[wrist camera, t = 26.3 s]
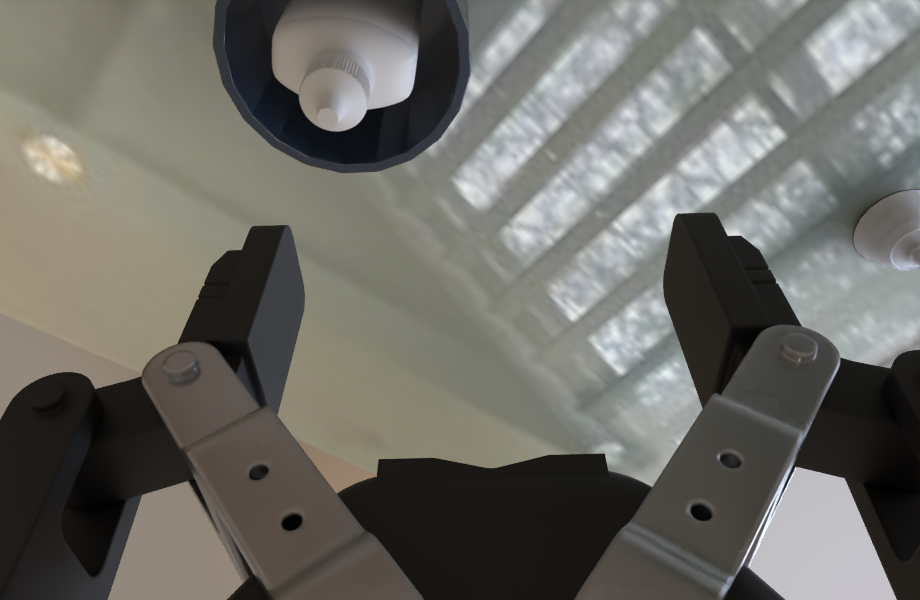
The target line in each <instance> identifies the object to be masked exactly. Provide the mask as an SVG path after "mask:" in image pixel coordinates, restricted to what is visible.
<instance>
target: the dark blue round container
mask: <svg viewBox="0 0 920 600" xmlns="http://www.w3.org/2000/svg"><path fill="white" fill-rule="evenodd" d="M289 1H290V0H217V2H216V6H215V18H214V34H213V48H214V52H215V56H216V60H217V64H218V67H219V71H220V75H221V79H222V83H223V85H224V87H225V89H226V91H227V92H228V94H229V96H230V97H231V99H232V101H233V102H234V104H235V106H236V107H237V109H238V111H239V112H240V114H241V116H242V117H243V119H244V120H245V121H246V122H247V123H248V124H249V125H250V126H251V127H252V128H253V129H254V130H256V131H257V132H258V133H259V134H260V135H261V136H262V137H263V138H264V139H265V140H266V141H267V142H268V143H269V144H270V145H271V146H273V147H274V148H276V149H278V150H280V151H282V152H284V153H285V154H287V155H289V156H291V157H293V158H295V159H297V160H298V161H300V162H302V163H304V164H307V165H310V166H314V167H318V168H322V169H327V170H331V171H335V172H339V173H358V172H377V171H381V170H384V169H387V168H390V167H393V166H396V165H398V164H401V163H404V162H407V161H410V160H411V159H413V158H415V157H416V156H417V155H419V154H420V153H422V152H423V151H424V150H426V149H427V148H428V147H430V146H431V145H432V144H434V143H435V142H436V141H438V140H439V138H441V136H442V135H443V134H444V132H445V131H446V129H447V128H448V126H449V125H450V124H451V122H452V121H453V119H454V118H455V116H456V115H457V114H458V112H459V111H460V109H461V106H462V102H463V99H464V95H465V92H466V89H467V85H468V82H469V79H470V75H471V58H470V32H469V17H468V1H467V0H421V2H422V17H421V28H420V38H419V48H418V57H417V65H416V72H415V80H414V85H413V89H412V91H411V93H410V95H409V97H407V98H406V99H405V100H403V101H401V102H399V103H396V104H393V105H389V106H386V107H381V108H375V109H368V110H367V111H366V114H365V115H364V117H363V118H362V120H360V122H359V123H358V124H357V125H355V126H354V127H352V128H349V129H347V130H346V131H345V130H343V131H340V132H339V131H336V132H335V131H328V130H325V129H322V128H321V127H318V126H316V125H315V124H313V123H312V122H311V121H310V119H308V118H307V116H305V113H303V110H302V107H301V106H300V105H301V104H300V103H299V102H300V100H299V96H298V95H299V94H297V93H295V92H293V91H292V90H290V89H288V88H287V87H286V86H284V85H283V84H281V83H280V82H279V81H278V80H277V78H276V77H275V75H274V72H273V69H272V38H273V34H274V31H275V28H276V26H277V24H278V22H279V20H280V18H281V16H282V14H283V12H284V10H285V9H286V7H287V5H288V3H289Z"/></svg>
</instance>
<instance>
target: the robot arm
mask: <svg viewBox="0 0 920 600" xmlns="http://www.w3.org/2000/svg"><path fill="white" fill-rule="evenodd" d="M204 283H205V286H203V287H202V289H201V291H200V294H199V296H198V297H199V300H196V303H195V305H194V307H193V310H192V312H191V314H190V316H189V319H188V321H187V323H186V325H185V328H184V330H183V332H182V335H181V337H180V339H179V341H178V344H177V345H174V346H171V347H168V348H166V349H165V350H163V351H161V352H159V353H158V354H156V355H155V356H154V357H153V358H152V359H151V360H150V361H149V362H148V363H147V365H146V366H145V368H144V370H143V372H142V376H141V377H138V378H135V379H132V380H129V381H125V382H121V383H117V384H113V385H109V386H105V387H102V388H98V389H95V388H94V386H93V384H92V382H91V381H90V379H89V378H87V377H86V376H84V375H82V374H79V373H73V372H63V373H56V374H53V375H49V376H46V377H43V378H41V379H39V380H36V381H35V382H33V383H31V384H30V385H28V386H26V387H25V388H23V389H22V390H21V391H20V392H19V393H18V394H17V395H16V396H15V397H14V398H13V399H12V401H11V402H10V404H9V406H8V407H7V409H6V411H5V412H4V414H3V416H2V418H1V420H0V600H107V599H108V597H109V594H110V591H111V587H112V585H113V582H114V579H115V576H116V572H117V569H118V566H119V563H120V560H121V557H122V554H123V551H124V548H125V545H126V542H127V539H128V536H129V533H130V530H131V527H132V524H133V521H134V518H135V515H136V512H137V509H138V506H139V503H140V499H141V496H142V495H143V494H146V493H149V492H152V491H156V490H159V489H163V488H166V487H169V486H173V485H176V484H179V483H182V482H186V481H187V482H188V484H189V486H190V488H191V489H192V491H193V493H194V495H195V496H196V498H197V500H198V502H199V503H200V505H201V507H202V509H203V510H204V512H205V514H206V515H207V517H208V519H209V521H210V523H211V524H212V526H213V528H214V530H215V531H216V533H217V535H218V537H219V539H220V540H221V542H222V544H223V545H224V547H225V549H226V551H227V553H228V555H229V557H230V559H231V561H232V563H233V565H234V567H235V569H236V571H237V573H238V575H239V576H240V579H241V580H242V582H243V584H242V585H241V586H240V587H239V588H238V589H237V590H236V591H235V592H234V593H233V594H232V595H231V596H230V597H229V598H228V599H227V600H785V599H784V598H783V597H781V596H780V595H779V594H778V593H777V592H776V591H775V590H773V589H772V588H771V587H770V586H769V585H768V584H766V583H765V582H764V581H763V580H762V579H761V578H760V577H758V576H757V575H756V574H755V573H754V572H753V571H752V570H750V569H749V567H750V565H751V563H752V560H753V558H754V556H755V554H756V552H757V549H758V547H759V545H760V543H761V540H762V538H763V536H764V534H765V532H766V530H767V528H768V526H769V524H770V521H771V519H772V517H773V515H774V513H775V511H776V509H777V507H778V505H779V503H780V501H781V498H782V496H783V494H784V492H785V490H786V488H787V486H788V484H789V482H790V480H791V478H792V476H793V474H794V471H795V469H796V467H800V468H804V469H808V470H813V471H817V472H821V473H825V474H829V475H834V476H838V477H842V478H845V480H846V482H847V484H848V487H849V489H850V491H851V493H852V496H853V498H854V501H855V503H856V505H857V508H858V510H859V512H860V515H861V517H862V519H863V522H864V524H865V526H866V529H867V531H868V533H869V535H870V538H871V540H872V543H873V545H874V547H875V549H876V552H877V554H878V557H879V559H880V561H881V564H882V566H883V568H884V571H885V573H886V575H887V578H888V580H889V582H890V585H891V587H892V589H893V591H894V594H895V596H896V599H897V600H920V350H913V351H907V352H905V353H902V354H901V355H899V356H898V357H897V358H896V359H895V360H894V362H893V364H892V367H891V369H890V368H885V367H880V366H874V365H869V364H864V363H859V362H854V361H850V360H846V359H843V358H840V355H839V352H838V350H837V348H836V347H835V346H834V345H833V344H832V343H831V342H830V341H829V340H828V339H827V338H825V337H824V336H822V335H821V334H819V333H817V332H815V331H813V330H810V329H807V328H804V327H802V326H801V324H800V322H799V321H798V319H797V317H796V315H795V313H794V312H793V310H792V308H791V306H790V304H789V303H788V301H787V299H786V297H785V295H784V294H783V292H782V290H781V288H780V287H779V285H778V284H776V279H775V278H774V276H773V274H772V272H771V270H768V265H767V263H766V261H765V260H764V258H763V256H762V254H761V253H760V251H759V250H758V249H757V248H756V247H755V246H753V245H752V244H751V243H749V242H748V241H747V240H746V239H744V238H743V237H742V236H727V234H726V232H725V230H724V228H723V226H722V224H721V222H720V220H719V218H718V216H717V215H716V214H715V213H684V214H677V215H676V216H675V219H674V222H673V227H672V232H671V238H670V243H669V248H668V254H667V259H666V265H665V270H664V278H663V290H664V298H665V302H666V305H667V308H668V311H669V314H670V317H671V319H672V322H673V325H674V328H675V331H676V334H677V336H678V339H679V342H680V345H681V348H682V351H683V354H684V356H685V359H686V362H687V365H688V368H689V371H690V373H691V376H692V379H693V382H694V385H695V388H696V391H697V393H698V396H699V399H700V402H701V405H702V408H703V410H702V411H701V413H700V414H699V416H698V417H697V419H696V420H695V422H694V424H693V425H692V427H691V428H690V430H689V431H688V433H687V434H686V436H685V437H684V439H683V441H682V442H681V444H680V445H679V447H678V448H677V450H676V451H675V453H674V455H673V456H672V458H671V459H670V461H669V462H668V464H667V465H666V467H665V468H664V470H663V472H662V473H661V475H660V476H659V478H658V479H657V481H656V482H655V484H654V486H653V487H651V486H649V485H647V484H645V483H643V482H641V481H639V480H636V479H634V478H631V477H629V476H626V475H622V474H619V473H615V472H611V471H608V468H607V463H606V458H605V454H571V455H547V456H543V457H539V458H535V459H531V460H527V461H523V462H519V463H515V464H511V465H507V466H503V467H499V468H483V467H478V466H473V465H468V464H463V463H458V462H452V461H447V460H442V459H437V458H412V459H379V461H378V471H377V477H374V478H370V479H367V480H364V481H361V482H358V483H356V484H354V485H352V486H350V487H347V488H345V489H343V490H342V491H340V492H339V493H337V494H336V492H335V491H334V490H333V488H332V487H331V486H330V485H329V483H328V482H327V481H326V479H325V478H324V477H323V475H322V474H321V473H320V471H319V470H318V469H317V467H316V466H315V465H314V463H313V462H312V461H311V459H310V458H309V457H308V456H307V454H306V453H305V452H304V450H303V449H302V448H301V446H300V445H299V444H298V442H297V441H296V440H295V438H294V437H293V436H292V434H291V433H290V432H289V430H288V429H287V428H286V426H285V425H284V424H283V423H282V421H281V420H280V419H279V417H278V416H277V415H278V411H279V407H280V403H281V399H282V395H283V391H284V387H285V383H286V379H287V375H288V371H289V367H290V363H291V359H292V356H293V352H294V348H295V344H296V340H297V336H298V332H299V328H300V324H301V320H302V316H303V312H304V304H305V293H304V284H303V279H302V275H301V270H300V266H299V261H298V257H297V252H296V248H295V243H294V239H293V235H292V231H291V229H290V227H289V226H288V225H276V226H253V227H251V229H250V231H249V233H248V236H247V238H246V241H245V243H244V246H243V248H242V250H231V251H227V252H226V253H225V254H224V255H223V256H222V257H221V258H220V259H219V260H217V261H216V262H215V263H214V264H213V265H212V266H211V269H210V271H209V273H208V275H207V278H206V280H205V282H204Z"/></svg>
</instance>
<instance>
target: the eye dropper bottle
mask: <svg viewBox="0 0 920 600" xmlns="http://www.w3.org/2000/svg"><path fill="white" fill-rule="evenodd" d="M421 17H422V2H421V0H290V1H289V3H288V5H287V7H286V9H285V10H284V12H283V14H282V16H281V18H280V20H279V22H278V24H277V26H276V28H275V31H274V34H273V38H272V69H273V72H274V75H275V77H276V78H277V80H278V81H279V82H280V83H281V84H283V85H284V86H286V87H287V88H288V89H290V90H292V91H293V92H295V93H297V94H299V95H298V96H299V100H300V102H299V103H300V104H301V105H300V106H301V107H302V110H303V113H305V116H307V118H308V119H310V121H311V122H312V123H313V124H315V125H316V126H318V127H321V128H322V129H325V130H328V131H335V132H336V131H339V132H340V131H343V130H345V131H346V130H347V129H349V128H352V127H354V126H355V125H357V124H358V123H359V122H360V120H362V118H363V117H364V115H365V114H366V111H367V110H368V109H375V108H381V107H386V106H389V105H393V104H396V103H399V102H401V101H403V100H405V99H406V98H407V97H409V95H410V93H411V91H412V89H413V85H414V80H415V72H416V65H417V57H418V48H419V38H420V28H421Z"/></svg>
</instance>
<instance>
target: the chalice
mask: <svg viewBox="0 0 920 600" xmlns="http://www.w3.org/2000/svg"><path fill="white" fill-rule="evenodd" d="M853 242H854V245H855V248H856V251H857V252H858V253H859V254H860V255H861V256H862V257H864V258H866V259H869V260H871V261H875V262H876V263H879V264H881V265H884V266H886V267H888V268H891V269H894V270H912V269H918V268H920V190H908V191H903V192H898V193H895V194H893V195H891V196H888V197H886V198H884V199H882V200H881V201H879V202H878V203H876V204H875V205H874V206H872V207H871V208H870V209H869V210H868V211H867V212H866V213H865V214H864V215H863V216H862V218H861V219H860V221H859V223H858V225H857V227H856V229H855V231H854V240H853Z"/></svg>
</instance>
